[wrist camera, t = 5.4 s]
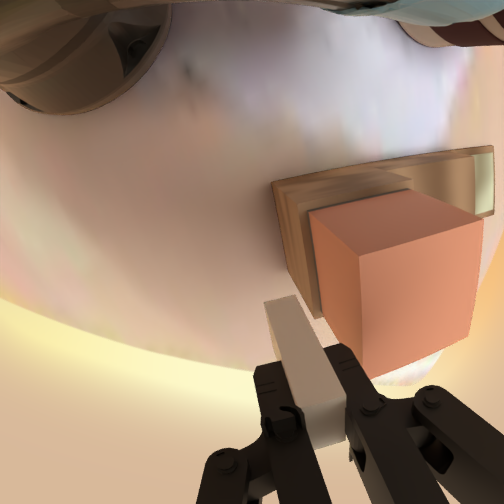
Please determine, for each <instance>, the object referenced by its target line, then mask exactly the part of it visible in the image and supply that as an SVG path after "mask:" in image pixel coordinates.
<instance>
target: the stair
mask: <svg viewBox="0 0 504 504" xmlns="http://www.w3.org/2000/svg"><path fill="white" fill-rule="evenodd" d="M271 185H272V189H273V194H274V199H275V205H276V210H277V215H278V220H279V225H280V230H281V235H282V241H283V246H284V251H285V257H286V262H287V268H288V272H289V274H290V275H291V277H292V279H293V281H294V283H295V285H296V286H297V288H298V290H299V292H300V294H301V295H302V297H303V299H304V301H305V303H306V305H307V306H308V308H309V310H310V312H311V314H312V316H313V317H314V319H318V318H321V317H324V316H323V314H322V312H321V308H320V300H319V292H318V285H317V277H316V270H315V263H314V255H313V249H312V242H311V235H310V229H309V222H308V216H307V210H310V209H315V208H319V207H323V206H328V205H332V204H337V203H341V202H345V201H350V200H354V199H359V198H364V197H368V196H373V195H377V194H382V193H387V192H391V191H396V190H401V189H406V188H409V189H412V190H414V191H417V192H420V193H422V194H425V195H427V196H430V197H433V198H435V199H438V200H440V201H443V202H445V203H447V204H450V205H452V206H455V207H457V208H459V209H462V210H464V211H466V212H469V213H471V214H473V215H476V216H478V217H480V218H484V217H488V216H491V215H494V204H495V165H494V146H481V147H473V148H464V149H456V150H448V151H440V152H433V153H426V154H419V155H412V156H406V157H399V158H393V159H387V160H381V161H375V162H369V163H364V164H358V165H352V166H347V167H342V168H336V169H331V170H326V171H321V172H316V173H311V174H306V175H301V176H297V177H292V178H287V179H283V180H278V181H273V182H271Z"/></svg>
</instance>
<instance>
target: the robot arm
mask: <svg viewBox="0 0 504 504" xmlns="http://www.w3.org/2000/svg"><path fill="white" fill-rule="evenodd" d="M195 1H217V0H0V88H1V89H2V90H3V91H5V92H7V94H8V95H9V96H10V97H11V98H12V99H13V100H14V101H16V102H17V103H18V104H20V105H21V106H23V107H25V108H26V109H29V110H31V111H34V112H38V113H42V114H52V115H72V114H79V113H84V112H87V111H91V110H93V109H96V108H98V107H101V106H103V105H105V104H107V103H109V102H111V101H112V100H114V99H116V98H117V97H119V96H120V95H122V94H123V93H124V92H126V91H127V90H128V89H129V88H131V87H132V86H133V85H134V84H135V83H136V82H137V81H138V80H139V79H140V78H141V77H142V76H143V75H144V74H145V73H146V72H147V70H148V69H149V68H150V67H151V65H152V64H153V62H154V61H155V59H156V58H157V56H158V55H159V53H160V51H161V49H162V47H163V45H164V43H165V41H166V38H167V35H168V32H169V28H170V23H171V16H172V5H171V3H182V2H195ZM251 1H268V2H280V3H290V4H299V5H307V6H314V7H320V8H321V9H323V10H326V11H329V12H333V13H336V14H341V15H344V16H371V15H373V16H379V17H383V18H388V19H392V20H397V21H401V22H405V23H409V24H415V25H421V26H448V25H451V24H454V23H457V22H472V21H475V20H479V19H483V18H485V17H488V16H490V15H492V14H495V13H497V12H499V11H501V10H503V9H504V0H251ZM264 306H265V311H266V316H267V321H268V325H269V330H270V335H271V340H272V344H273V349H274V352H275V355H276V358H277V362H272V363H268V364H264V365H260V366H256V369H255V372H254V375H253V378H254V383H255V388H256V393H257V398H258V403H259V407H260V412H261V428H262V434H261V435H260V437H259V438H258V439H257V440H256V441H255V442H254V443H252V444H251V445H249V446H247V447H245V448H243V449H241V450H238V449H234V448H224V449H220V450H218V451H216V452H214V453H213V454H212V455H210V456H209V458H208V459H207V461H206V463H205V468H204V472H203V476H202V480H201V484H200V489H199V493H198V497H197V501H196V504H262V497H263V496H265V495H267V494H269V493H271V492H273V491H275V490H277V494H278V499H279V503H280V504H332V502H331V499H330V496H329V493H328V490H327V487H326V485H325V482H324V479H323V476H322V473H321V470H320V467H319V464H318V461H317V458H316V455H315V453H314V450H316V449H319V448H323V447H326V446H329V445H333V444H336V443H339V442H342V441H345V440H346V435H347V438H348V440H349V442H350V448H349V460H350V462H351V461H352V460H354V462H355V465H356V467H357V469H358V472H359V474H360V477H361V479H362V481H363V483H364V486H365V488H366V491H367V493H368V496H369V498H370V500H371V503H372V504H449V502H448V500H447V498H446V496H445V495H444V493H443V491H442V489H441V488H440V486H439V484H438V483H437V481H438V482H439V483H440V484H441V485H442V486H443V487H444V488H445V489H446V490H447V491H448V492H449V493H450V494H451V495H453V497H454V498H456V500H458V502H460V503H461V504H504V435H503V434H502V433H501V432H499V431H498V430H496V429H495V428H494V427H493V426H492V425H490V424H489V423H488V422H486V421H485V420H484V419H483V418H481V417H480V416H479V415H477V414H476V413H475V412H474V411H472V410H471V409H470V408H468V407H467V406H466V405H465V404H463V403H462V402H461V401H460V400H458V399H457V398H456V397H454V396H453V395H452V394H451V393H449V392H448V391H447V390H445V389H443V388H442V387H440V386H435V385H429V386H425V387H423V388H421V389H419V390H418V391H417V392H416V394H415V396H414V397H411V398H404V399H390V398H386V397H385V396H384V395H382V394H379V393H378V392H377V391H376V389H375V388H374V386H373V384H372V383H371V381H370V379H369V378H368V376H367V374H366V373H365V371H364V369H363V368H362V366H361V365H360V363H359V361H358V360H357V359H356V356H355V355H354V353H353V351H352V350H351V349H350V348H349V347H347V346H346V345H344V344H343V343H339V344H336V345H332V346H329V347H325V348H322V346H321V344H320V342H319V340H318V338H317V336H316V334H315V332H314V330H313V328H312V326H311V324H310V322H309V321H308V319H307V317H306V315H305V313H304V311H303V309H302V307H301V305H300V303H299V301H298V299H297V297H296V295H292V296H288V297H284V298H280V299H276V300H271V301H267V302H264Z"/></svg>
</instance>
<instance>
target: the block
mask: <svg viewBox="0 0 504 504" xmlns="http://www.w3.org/2000/svg"><path fill="white" fill-rule="evenodd" d="M307 216H308V222H309V229H310V235H311V242H312V249H313V255H314V263H315V270H316V277H317V285H318V292H319V300H320V308H321V312H322V314H323V316H324V318H325V319H326V321H327V323H328V324H329V326H330V328H331V329H332V331H333V333H334V334H335V336H336V338H337V340H338V341H339V343H343V344H344V345H346V346H347V347H349V348H350V349H351V350H352V351H353V353H354V355H355V356H356V359H357V360H358V361H359V363H360V365H361V366H362V368H363V369H364V371H365V373H366V374H367V376H368V378H369V379H373V378H375V377H378V376H381V375H383V374H386V373H388V372H391V371H393V370H396V369H398V368H401V367H403V366H406V365H408V364H410V363H413V362H415V361H417V360H420V359H422V358H424V357H426V356H428V355H431V354H433V353H435V352H437V351H439V350H441V349H443V348H446V347H448V346H450V345H452V344H454V343H456V342H458V341H460V340H462V339H464V338H466V337H467V336H468V334H469V330H470V325H471V320H472V315H473V309H474V303H475V298H476V292H477V285H478V278H479V271H480V262H481V252H482V241H483V225H484V219H482V218H480V217H478V216H476V215H473V214H471V213H469V212H466V211H464V210H462V209H459V208H457V207H455V206H452V205H450V204H447V203H445V202H443V201H440V200H438V199H435V198H433V197H430V196H427V195H425V194H422V193H420V192H417V191H414V190H412V189H409V188H406V189H401V190H396V191H391V192H387V193H382V194H377V195H373V196H368V197H364V198H359V199H354V200H350V201H345V202H341V203H337V204H332V205H328V206H323V207H319V208H315V209H310V210H307Z"/></svg>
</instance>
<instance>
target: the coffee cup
mask: <svg viewBox="0 0 504 504" xmlns="http://www.w3.org/2000/svg"><path fill="white" fill-rule="evenodd" d="M398 22H399V23H400V25H401V26H402V28H403V29H404V30H405V31H406V32H407V33H408V34H409V35H410V36H411V37H412V38H413V39H414V40H416V41H417V42H419V43H421V44H423V45H425V46H428V47H435V48H436V47H446V46H455V45H456V46H460V47H471V46H490V45H504V9H503V10H501V11H499V12H497V13H495V14H492V15H490V16H488V17H485V18H483V19H479V20H475V21H472V22H457V23H454V24H451V25H448V26H421V25H415V24H409V23H405V22H401V21H398Z"/></svg>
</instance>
